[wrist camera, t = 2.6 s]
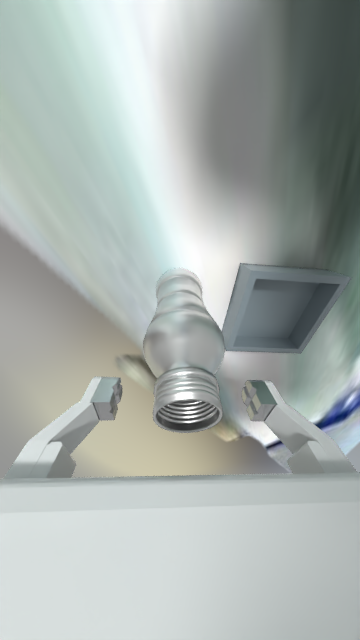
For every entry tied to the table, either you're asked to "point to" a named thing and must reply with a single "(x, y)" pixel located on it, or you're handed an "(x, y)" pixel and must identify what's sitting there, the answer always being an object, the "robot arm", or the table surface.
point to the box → (279, 307)
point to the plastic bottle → (184, 355)
